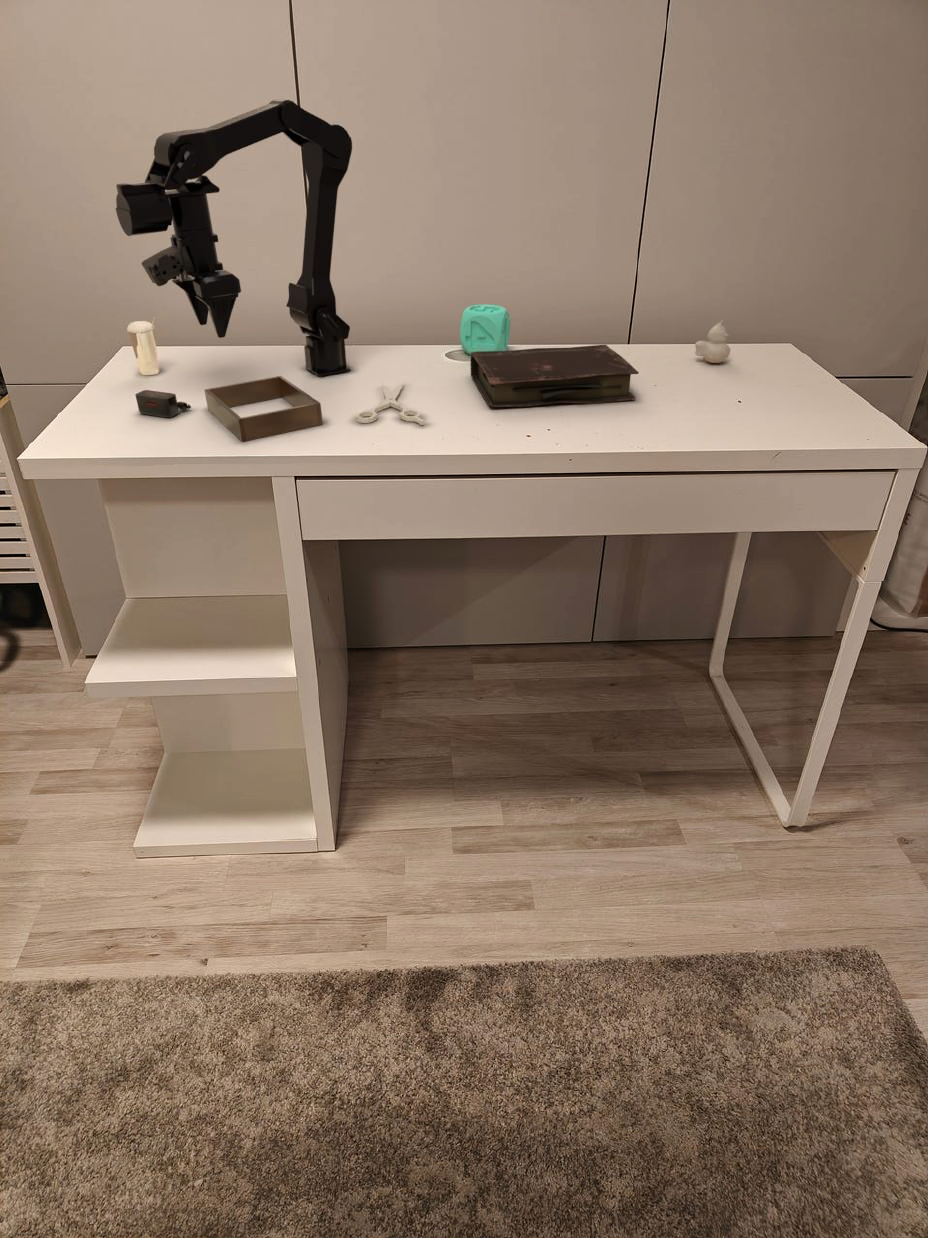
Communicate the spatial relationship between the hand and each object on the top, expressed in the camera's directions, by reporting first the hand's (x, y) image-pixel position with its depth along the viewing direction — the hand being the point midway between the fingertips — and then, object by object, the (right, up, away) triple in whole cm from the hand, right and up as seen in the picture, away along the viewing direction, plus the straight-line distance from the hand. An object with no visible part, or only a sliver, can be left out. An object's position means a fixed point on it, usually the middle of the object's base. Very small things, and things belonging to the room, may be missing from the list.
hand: (212, 330), depth 136 cm
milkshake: (-16, -2, +16) cm, 23 cm away
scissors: (+29, -12, +1) cm, 32 cm away
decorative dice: (+46, +5, +27) cm, 53 cm away
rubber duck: (+88, +1, +20) cm, 91 cm away
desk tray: (+9, -15, -3) cm, 18 cm away
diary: (+57, -8, +8) cm, 58 cm away
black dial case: (-7, -14, -2) cm, 16 cm away
